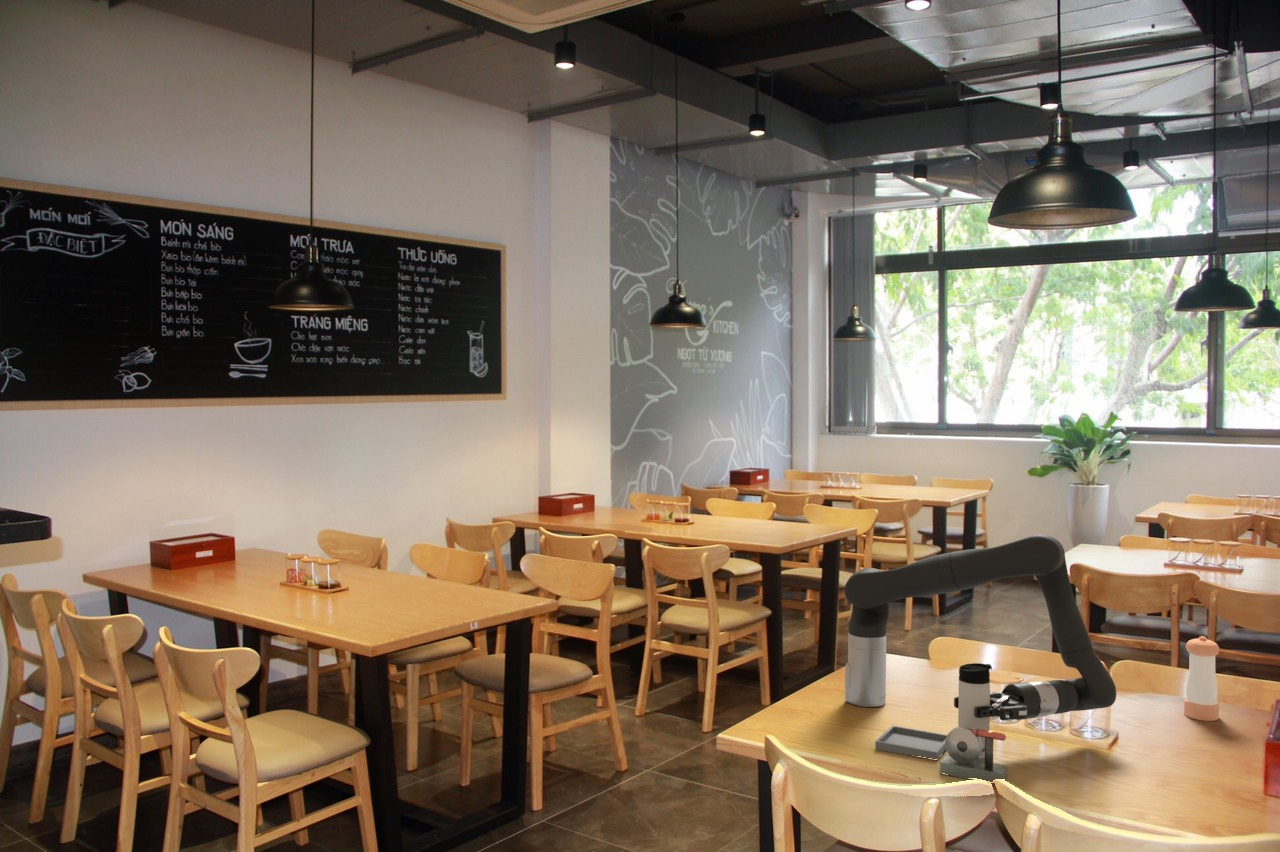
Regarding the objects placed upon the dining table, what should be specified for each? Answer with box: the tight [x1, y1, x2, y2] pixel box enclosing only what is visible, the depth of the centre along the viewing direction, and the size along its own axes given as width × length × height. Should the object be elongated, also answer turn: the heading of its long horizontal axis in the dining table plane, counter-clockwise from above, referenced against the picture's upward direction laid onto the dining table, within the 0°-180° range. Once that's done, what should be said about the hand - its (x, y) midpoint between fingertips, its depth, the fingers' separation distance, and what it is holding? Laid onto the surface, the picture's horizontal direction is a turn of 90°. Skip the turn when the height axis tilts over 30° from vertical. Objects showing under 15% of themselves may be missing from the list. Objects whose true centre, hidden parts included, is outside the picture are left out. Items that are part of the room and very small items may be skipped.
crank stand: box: [939, 726, 1008, 782], centre depth 201 cm, size 12×5×10 cm, turn 59°
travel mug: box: [957, 662, 993, 762], centre depth 210 cm, size 6×7×20 cm
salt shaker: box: [1183, 635, 1220, 722], centre depth 238 cm, size 7×7×19 cm
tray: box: [874, 724, 948, 760], centre depth 217 cm, size 13×12×2 cm
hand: (965, 707), depth 209 cm, fingers closed on travel mug, 6 cm apart
